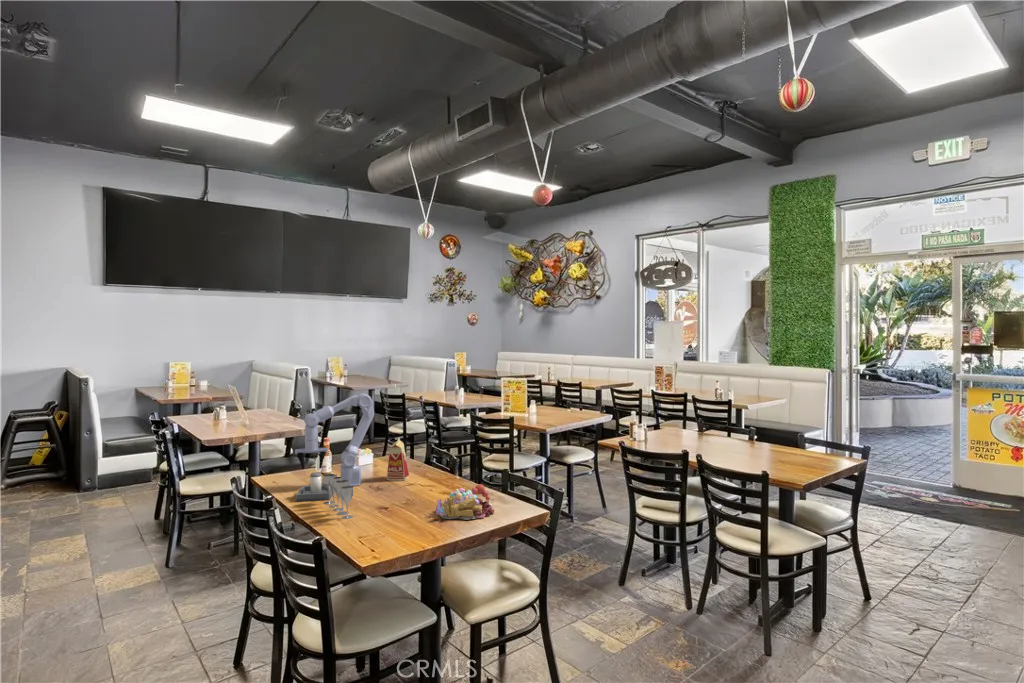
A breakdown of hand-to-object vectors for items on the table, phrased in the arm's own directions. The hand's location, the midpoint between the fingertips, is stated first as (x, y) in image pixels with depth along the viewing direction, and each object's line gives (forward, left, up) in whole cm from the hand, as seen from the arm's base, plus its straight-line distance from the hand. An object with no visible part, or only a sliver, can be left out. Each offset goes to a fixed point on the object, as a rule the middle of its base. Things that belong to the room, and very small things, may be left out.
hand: (311, 468), depth 254 cm
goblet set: (-16, +34, -10) cm, 39 cm away
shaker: (-4, +13, -8) cm, 16 cm away
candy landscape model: (-68, +46, -10) cm, 82 cm away
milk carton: (-39, -10, -10) cm, 41 cm away
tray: (-4, +13, -9) cm, 17 cm away
